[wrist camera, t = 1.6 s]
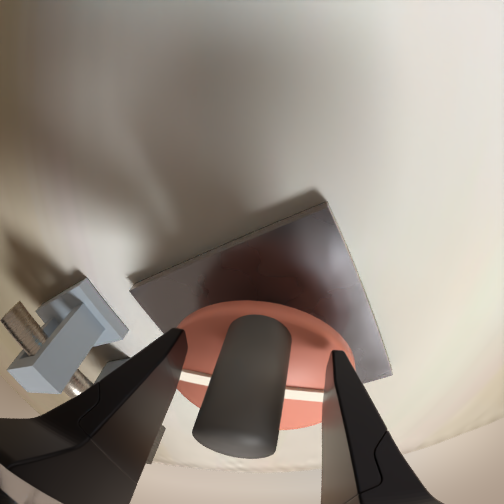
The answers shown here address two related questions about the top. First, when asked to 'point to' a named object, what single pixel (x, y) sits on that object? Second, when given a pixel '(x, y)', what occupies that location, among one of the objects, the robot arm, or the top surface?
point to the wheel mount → (277, 283)
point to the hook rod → (31, 342)
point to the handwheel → (255, 373)
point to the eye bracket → (68, 339)
